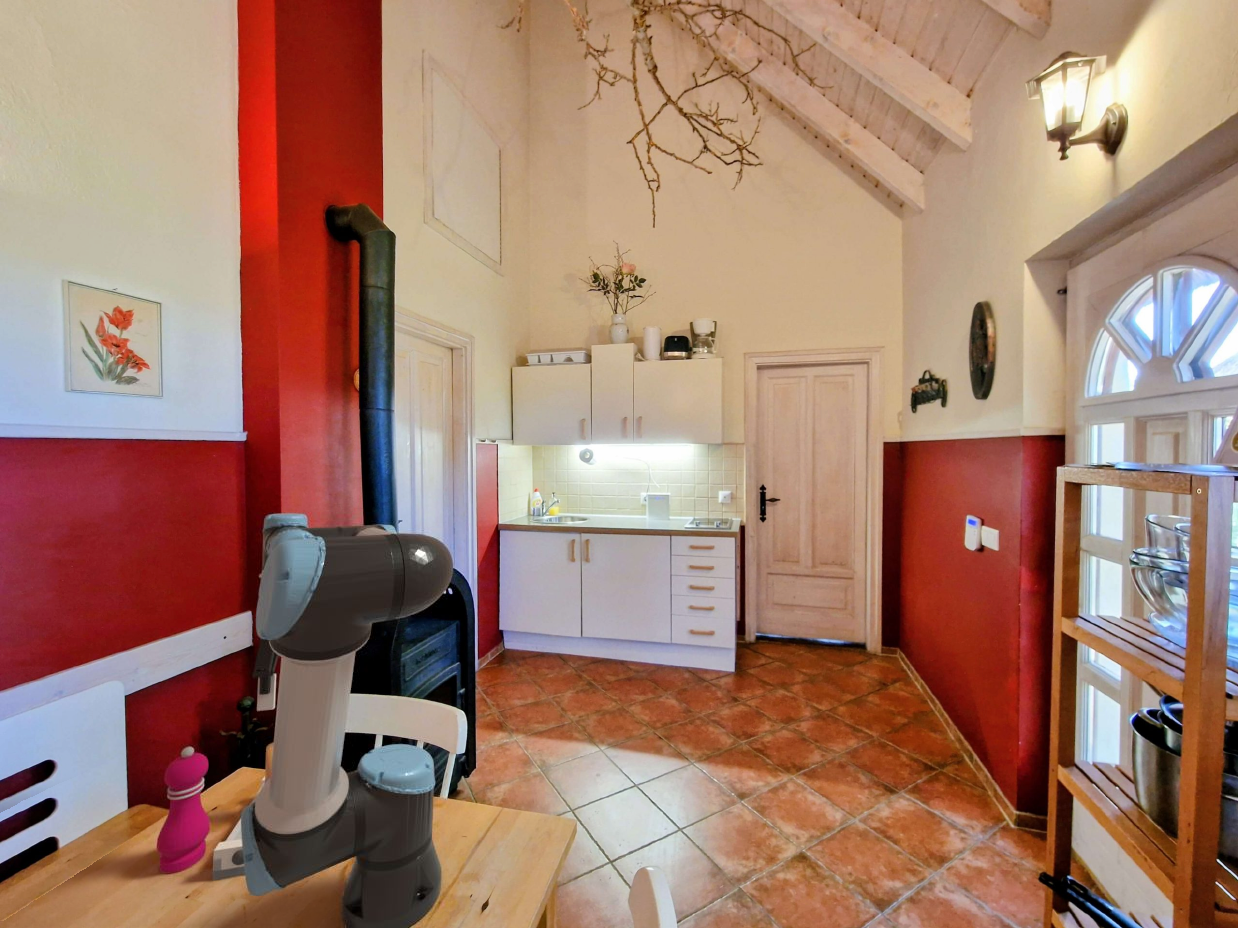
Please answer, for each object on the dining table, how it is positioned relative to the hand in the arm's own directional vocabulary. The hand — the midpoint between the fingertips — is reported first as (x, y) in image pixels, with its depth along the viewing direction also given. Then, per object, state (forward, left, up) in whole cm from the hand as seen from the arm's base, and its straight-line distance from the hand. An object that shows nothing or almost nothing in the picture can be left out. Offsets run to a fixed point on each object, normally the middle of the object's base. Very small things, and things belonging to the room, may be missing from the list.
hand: (279, 694), depth 102 cm
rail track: (-4, 0, -24) cm, 25 cm away
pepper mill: (-9, +11, -25) cm, 29 cm away
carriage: (0, 0, -23) cm, 23 cm away
